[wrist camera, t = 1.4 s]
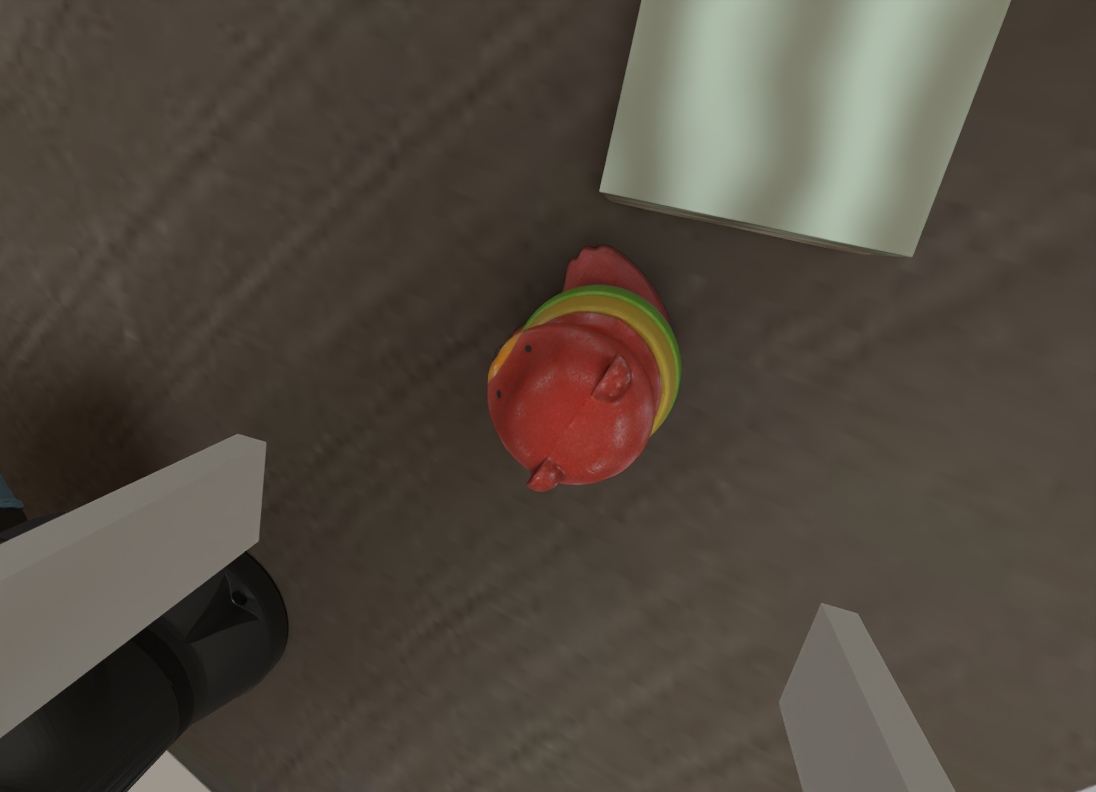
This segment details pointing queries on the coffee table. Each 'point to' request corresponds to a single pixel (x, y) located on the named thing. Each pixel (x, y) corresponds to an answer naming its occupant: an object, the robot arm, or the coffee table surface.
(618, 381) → the stacking bear
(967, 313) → the coffee table surface
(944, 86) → the tower base
